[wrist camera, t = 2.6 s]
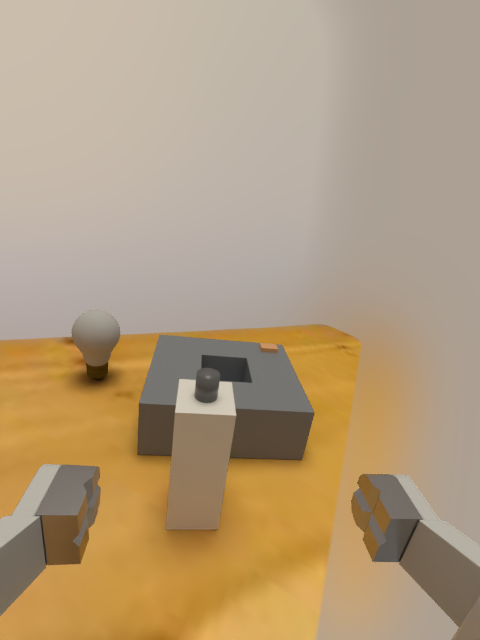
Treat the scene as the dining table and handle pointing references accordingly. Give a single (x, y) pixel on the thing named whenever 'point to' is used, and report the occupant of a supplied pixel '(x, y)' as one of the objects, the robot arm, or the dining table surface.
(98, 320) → the light bulb
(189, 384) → the plug
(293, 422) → the socket housing
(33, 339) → the dining table surface
